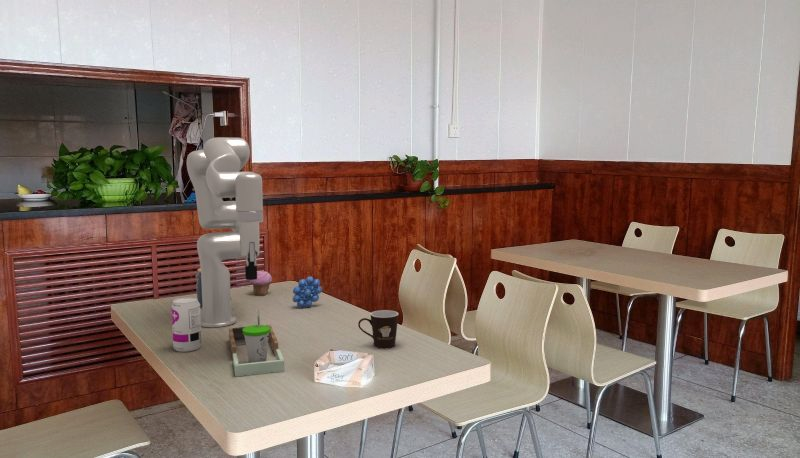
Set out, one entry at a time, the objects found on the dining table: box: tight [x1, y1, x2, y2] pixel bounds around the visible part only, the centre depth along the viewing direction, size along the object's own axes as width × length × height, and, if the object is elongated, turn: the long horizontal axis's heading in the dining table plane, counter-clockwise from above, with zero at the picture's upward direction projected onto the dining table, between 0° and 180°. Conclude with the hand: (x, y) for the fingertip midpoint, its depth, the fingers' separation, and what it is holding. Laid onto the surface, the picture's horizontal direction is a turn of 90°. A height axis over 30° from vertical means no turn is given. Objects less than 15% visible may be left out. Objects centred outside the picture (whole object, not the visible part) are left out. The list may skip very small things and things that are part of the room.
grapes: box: [292, 275, 323, 308], centre depth 240 cm, size 12×7×12 cm, turn 115°
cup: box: [242, 308, 271, 363], centre depth 175 cm, size 8×8×15 cm
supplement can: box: [170, 296, 203, 353], centre depth 190 cm, size 8×8×15 cm
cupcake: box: [249, 270, 273, 296], centre depth 261 cm, size 9×9×10 cm
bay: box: [232, 348, 285, 377], centre depth 173 cm, size 10×13×3 cm
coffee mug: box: [357, 309, 399, 350], centre depth 193 cm, size 12×9×10 cm
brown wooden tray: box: [228, 324, 279, 361], centre depth 190 cm, size 20×13×4 cm, turn 18°
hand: (251, 279), depth 183 cm, fingers closed
